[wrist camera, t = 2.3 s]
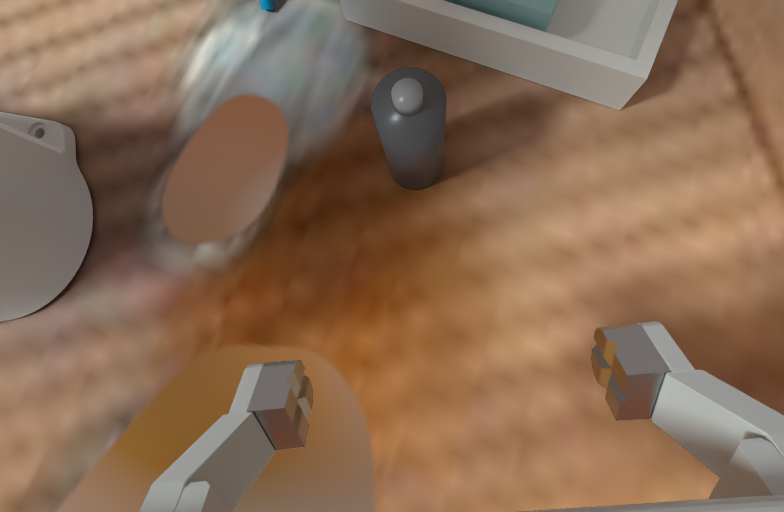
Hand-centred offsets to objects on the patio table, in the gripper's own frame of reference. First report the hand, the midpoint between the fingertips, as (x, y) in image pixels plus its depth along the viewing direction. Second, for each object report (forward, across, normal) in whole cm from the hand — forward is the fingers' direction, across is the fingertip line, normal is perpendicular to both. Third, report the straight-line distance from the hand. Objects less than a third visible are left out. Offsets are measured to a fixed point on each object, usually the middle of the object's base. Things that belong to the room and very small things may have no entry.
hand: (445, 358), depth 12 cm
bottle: (+22, 0, +3) cm, 22 cm away
